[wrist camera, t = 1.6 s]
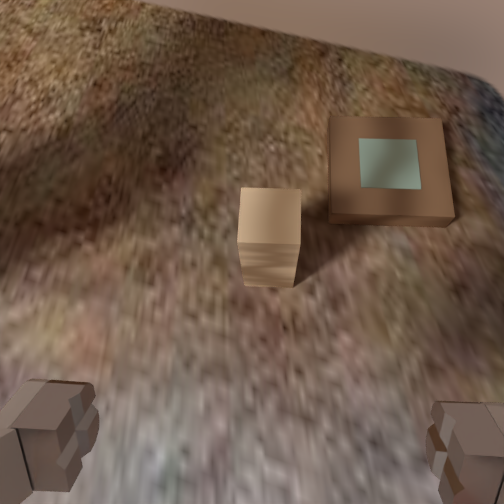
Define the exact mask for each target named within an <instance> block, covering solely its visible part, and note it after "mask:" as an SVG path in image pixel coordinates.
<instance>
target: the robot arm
mask: <svg viewBox="0 0 504 504" xmlns="http://www.w3.org/2000/svg"><path fill="white" fill-rule="evenodd" d="M95 396H96V395H95V391H94V386H93V385H92V384H91V383H88V382H75V381H62V380H44V379H30V380H27V381H26V382H25V383H24V384H23V385H22V386H21V387H20V388H19V390H18V391H17V392H16V393H15V394H14V395H13V397H12V398H11V399H10V400H9V401H8V402H7V404H6V405H5V406H4V407H3V408H2V409H1V411H0V504H20V503H21V502H22V501H24V500H25V499H26V498H27V497H28V496H29V495H31V494H32V493H33V492H32V491H55V492H70V490H71V488H72V486H73V484H74V483H75V481H76V479H77V477H78V475H79V473H80V471H81V469H82V467H83V466H82V461H81V458H82V457H83V456H85V455H86V454H87V453H89V452H90V451H91V450H92V448H93V446H94V444H95V442H96V438H97V435H98V431H99V413H98V410H97V409H96V408H95V407H94V406H93V405H92V404H91V403H92V401H93V400H94V398H95ZM431 416H432V419H433V421H434V424H433V425H432V426H430V427H429V428H428V429H427V435H426V455H427V460H428V464H429V466H430V469H431V472H432V473H433V474H434V475H435V476H436V477H437V478H438V479H440V484H439V488H438V491H439V494H440V497H441V499H442V502H443V504H504V403H491V402H480V403H477V402H455V401H435V402H434V404H433V405H432V410H431Z"/></svg>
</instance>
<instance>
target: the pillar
mask: <svg viewBox="0 0 504 504" xmlns="http://www.w3.org/2000/svg"><path fill="white" fill-rule="evenodd" d="M237 244H238V250H239V256H240V262H241V268H242V274H243V280H244V286H261V287H285V288H293V284H294V278H295V273H296V267H297V261H298V256H299V250H300V244H301V189H274V188H241V198H240V211H239V225H238V239H237Z"/></svg>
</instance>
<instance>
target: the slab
mask: <svg viewBox="0 0 504 504" xmlns="http://www.w3.org/2000/svg"><path fill="white" fill-rule="evenodd" d="M327 143H328V215H329V224H354V225H383V226H412V227H441V228H446V227H447V226H448V224H449V223H450V222H451V221H452V220H453V219H454V218H455V213H454V206H453V199H452V191H451V184H450V177H449V170H448V162H447V155H446V148H445V141H444V133H443V126H442V119H441V118H404V117H356V116H330V119H329V124H328V129H327Z"/></svg>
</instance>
